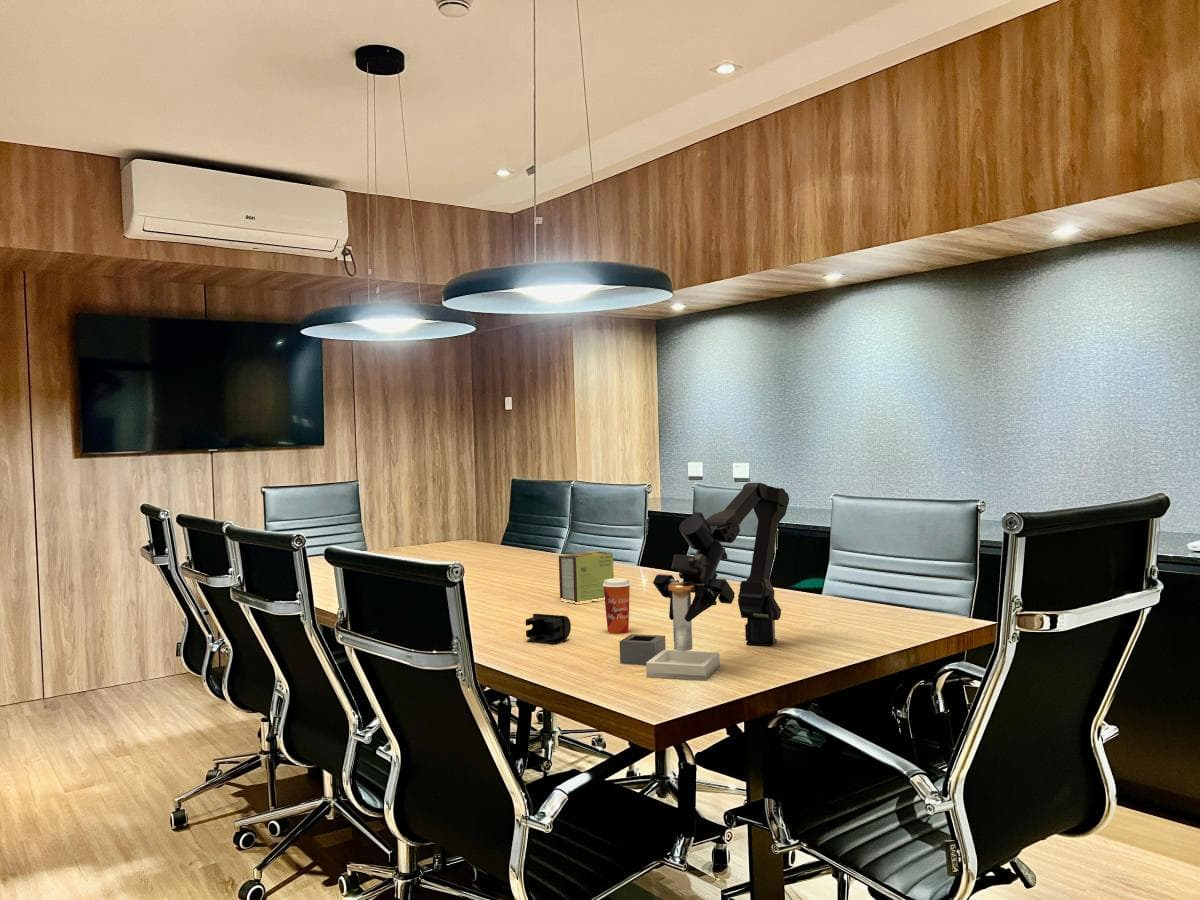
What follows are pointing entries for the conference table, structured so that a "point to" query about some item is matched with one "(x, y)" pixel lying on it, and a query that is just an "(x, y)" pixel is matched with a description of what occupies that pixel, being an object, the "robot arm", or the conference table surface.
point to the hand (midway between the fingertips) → (678, 619)
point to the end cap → (548, 629)
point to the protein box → (584, 575)
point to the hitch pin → (681, 615)
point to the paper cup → (617, 604)
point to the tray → (683, 664)
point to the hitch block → (640, 648)
